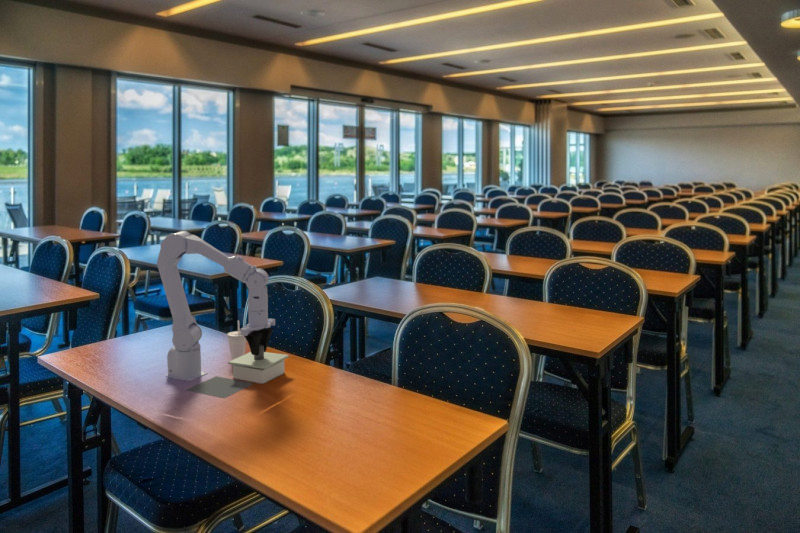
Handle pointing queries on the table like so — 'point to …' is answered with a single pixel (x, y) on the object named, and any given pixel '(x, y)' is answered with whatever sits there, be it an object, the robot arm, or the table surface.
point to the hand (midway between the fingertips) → (258, 353)
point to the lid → (259, 359)
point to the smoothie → (236, 343)
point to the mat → (219, 387)
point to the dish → (258, 373)
